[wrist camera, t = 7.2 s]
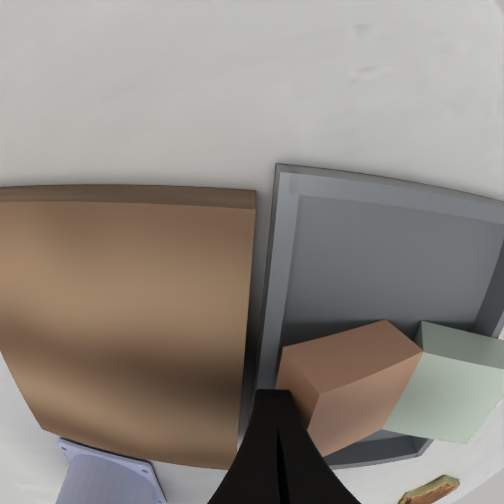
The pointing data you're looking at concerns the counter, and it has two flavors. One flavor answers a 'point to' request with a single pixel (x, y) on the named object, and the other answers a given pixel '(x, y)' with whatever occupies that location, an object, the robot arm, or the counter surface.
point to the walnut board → (129, 314)
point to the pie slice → (431, 491)
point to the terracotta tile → (348, 381)
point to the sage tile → (450, 385)
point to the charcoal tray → (375, 272)
